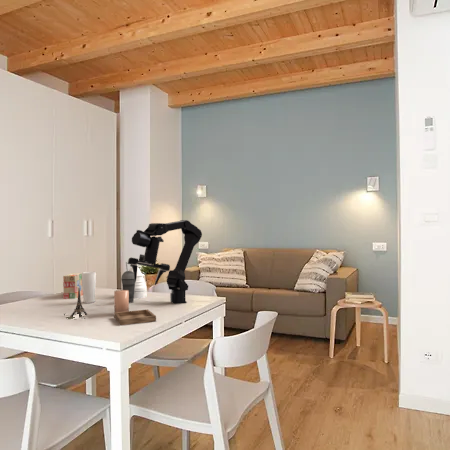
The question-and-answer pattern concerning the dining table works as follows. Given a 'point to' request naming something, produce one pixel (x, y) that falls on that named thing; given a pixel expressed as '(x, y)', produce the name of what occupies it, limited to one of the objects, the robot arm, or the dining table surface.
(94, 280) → the white tall cylinder
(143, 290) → the honey pot
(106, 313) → the dining table surface
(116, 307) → the pinkish-brown upright cylinder
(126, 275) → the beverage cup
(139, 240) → the robot arm
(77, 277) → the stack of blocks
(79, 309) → the eiffel tower figurine
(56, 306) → the dining table surface
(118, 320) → the tray
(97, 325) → the dining table surface
